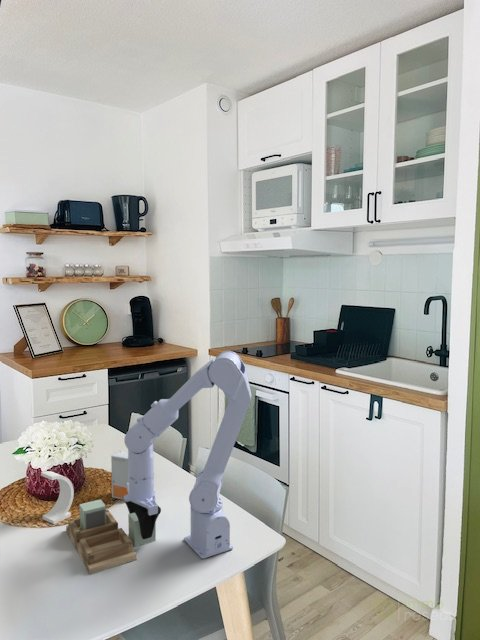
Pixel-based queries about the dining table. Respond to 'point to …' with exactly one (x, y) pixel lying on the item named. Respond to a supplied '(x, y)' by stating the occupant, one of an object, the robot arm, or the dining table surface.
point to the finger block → (138, 531)
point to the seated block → (92, 514)
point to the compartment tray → (101, 544)
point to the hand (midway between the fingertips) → (142, 531)
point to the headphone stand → (60, 498)
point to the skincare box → (119, 474)
